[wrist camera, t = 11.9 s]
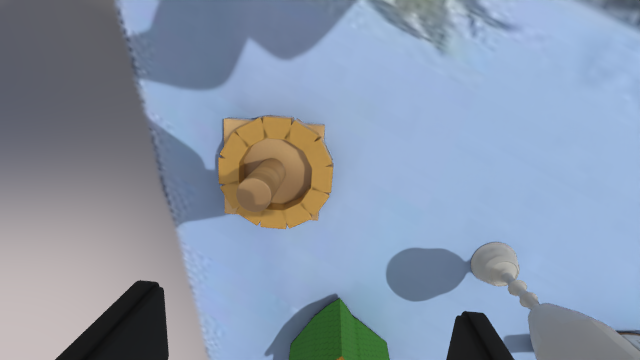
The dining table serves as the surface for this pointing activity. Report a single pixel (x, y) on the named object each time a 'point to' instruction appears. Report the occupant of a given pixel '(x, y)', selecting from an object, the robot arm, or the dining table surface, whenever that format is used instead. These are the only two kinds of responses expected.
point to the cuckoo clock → (337, 338)
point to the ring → (298, 136)
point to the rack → (271, 171)
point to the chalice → (551, 315)
